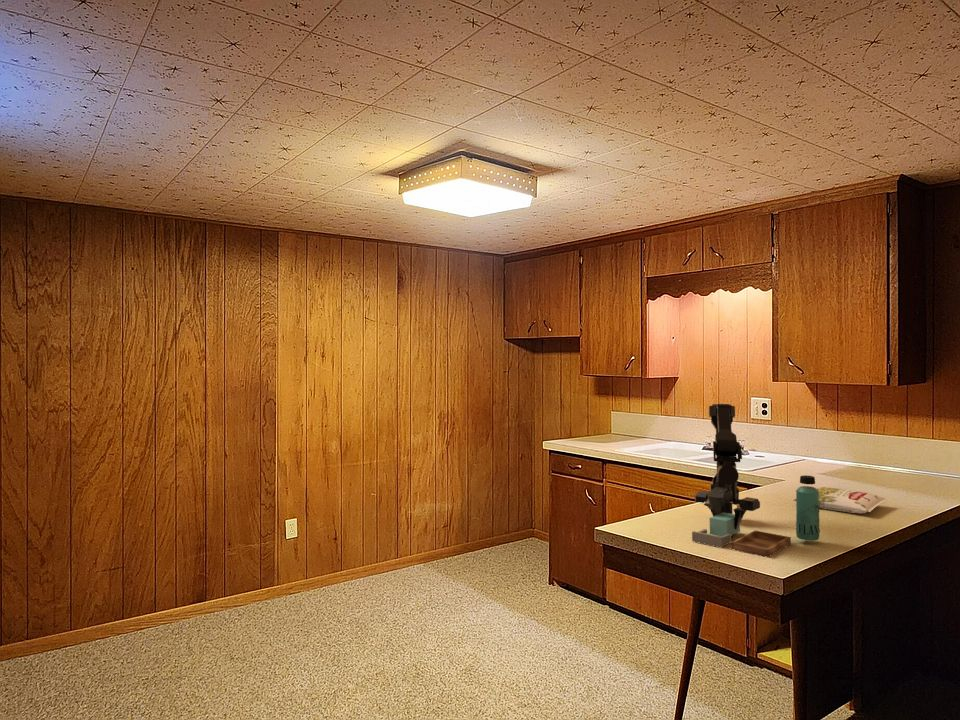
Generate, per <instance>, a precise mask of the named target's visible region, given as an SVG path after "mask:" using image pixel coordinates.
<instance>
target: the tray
mask: <svg viewBox="0 0 960 720" xmlns="http://www.w3.org/2000/svg"><path fill="white" fill-rule="evenodd" d="M791 539H792V537H791V536H787V535H781V534H776V533H771V532H766V531H760V530H753V531H751V532H749V533H746V534H745V535H743V536H740V537H739V538H737V539H735V540H733V541H731V542H730V549H731V550H732V549H735V550H734V551H737V550H739V552H741V551H743V553H746V552H747V553H746V554H751V553H752V554H751V555H755V554H757V555H756V556H760V555H761V557H765V556H766V558H769V557H770V555H771V556H772V555H774V554H775V552H776V553H778V552H779V551H781V550H783V549H784V548H786V547H788V546H789V544H790V545H791V544H792V540H791ZM787 545H788V546H787ZM785 546H786V547H785ZM782 548H783V549H782ZM780 549H781V550H780ZM777 551H778V552H777ZM773 553H774V554H773ZM768 556H769V557H768Z"/></svg>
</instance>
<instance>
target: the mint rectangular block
mask: <svg viewBox="0 0 960 720" xmlns="http://www.w3.org/2000/svg"><path fill="white" fill-rule="evenodd" d="M734 524H735V513H733V514H730V513H724V512H723V513H720V514H718V515H715V516H713V515H712V516H711V517H709V534H710V535H715V536H720V537H722V536H724V535H726V534H731V536H733V535H735V534H737V533H739V532H740V531H741V523H740V524H739V527H738V529H737V530H735V525H734Z"/></svg>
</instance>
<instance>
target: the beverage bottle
mask: <svg viewBox="0 0 960 720" xmlns="http://www.w3.org/2000/svg"><path fill="white" fill-rule="evenodd" d="M815 478H816V477H815V476H813V475H800V477H799V483H800V484H801V485H800V486H799V487H797V489H795V492H796V493H795V495H796V497H795V499H796V501H795V502H796V505H795V506H796V507H795V508H796V513H795V517H796V518H795V535H796V538H798V539H800V540H803V541H810V542H811V541H812V542H813V541H818V540H820V537H821V536H820V535H821V534H820V533H821V530H820V509H821V508H819V502H820V501H819V491H818V490H817V488H816V487H814V486H810V485H815V484H816V479H815ZM808 485H809V486H808Z"/></svg>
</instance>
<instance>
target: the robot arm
mask: <svg viewBox="0 0 960 720" xmlns="http://www.w3.org/2000/svg"><path fill="white" fill-rule="evenodd" d="M708 417H709V418H710V423H711V425H712V426H713V428H714V429H715V438H714V441H712V450H713V451H712V452H713V454H712V455H713V462H716V473H715V475H714V476H713V478H712V480H711V482H712V483H710V486H709V487H710V488H709V490H700V491H698V492H696V494H695V495H694V502H695V503H701V504H702V503H703V505H704V506H706V507H707V508H708V509H709V511H710V513H711V515H712V517H713V516H715V515H718V514H720V513H723V512H724V513H730V514H735V524H734V525H735V530H737V529H738V527H739V524H740V525H741V522H742V520H743V517H744V516H745V514H746V513H747V511H748V512H753V511H756V510H758V509H760V508H761V501H760V500H759V499H758V498H755V497H748V496H747V497H744V498H741V499H740V489H739V487H738V485H739V477H740V476H739V472H738V469H737V463H741V460H743V451H742V445H741V443H740V441H738V440H737V435H736V434H735V433H734V432H733V431H732V424H733V421H734V418H735V417H736V406H735V405H732V404H729V403H713V404H711V405H708ZM735 505H736V507H735V508H733V506H735Z"/></svg>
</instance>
